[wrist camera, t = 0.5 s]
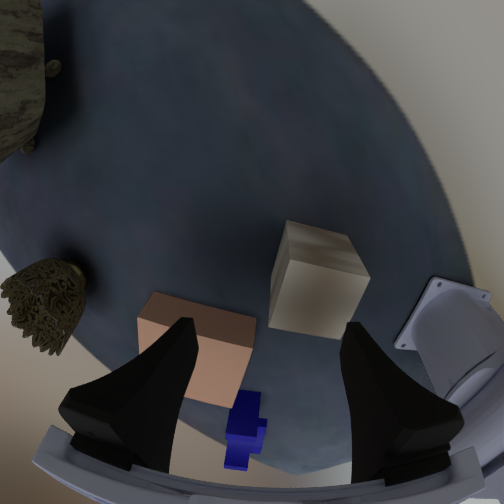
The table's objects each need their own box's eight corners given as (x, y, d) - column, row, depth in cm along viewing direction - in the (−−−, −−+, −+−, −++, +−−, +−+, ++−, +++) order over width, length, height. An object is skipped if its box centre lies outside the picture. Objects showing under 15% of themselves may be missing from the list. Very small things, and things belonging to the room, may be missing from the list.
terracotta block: (256, 315, 23) (252, 348, 20) (236, 378, 27) (231, 408, 23) (155, 289, 23) (137, 317, 19) (155, 355, 27) (142, 383, 23)
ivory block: (346, 235, 19) (370, 277, 14) (327, 287, 21) (340, 339, 16) (286, 219, 19) (289, 259, 14) (271, 274, 21) (268, 326, 16)
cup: (49, 227, 21) (-9, 266, 14) (107, 250, 21) (51, 302, 14) (54, 289, 24) (11, 333, 17) (108, 314, 25) (68, 369, 17)
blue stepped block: (261, 436, 33) (258, 472, 27) (229, 432, 33) (223, 468, 28) (274, 392, 28) (272, 438, 22) (233, 387, 28) (225, 433, 22)
